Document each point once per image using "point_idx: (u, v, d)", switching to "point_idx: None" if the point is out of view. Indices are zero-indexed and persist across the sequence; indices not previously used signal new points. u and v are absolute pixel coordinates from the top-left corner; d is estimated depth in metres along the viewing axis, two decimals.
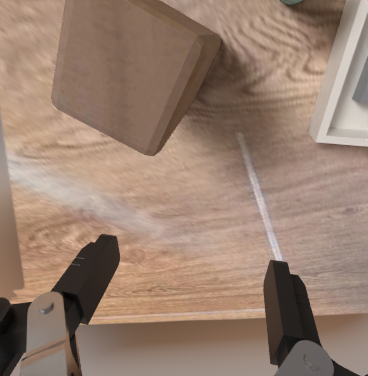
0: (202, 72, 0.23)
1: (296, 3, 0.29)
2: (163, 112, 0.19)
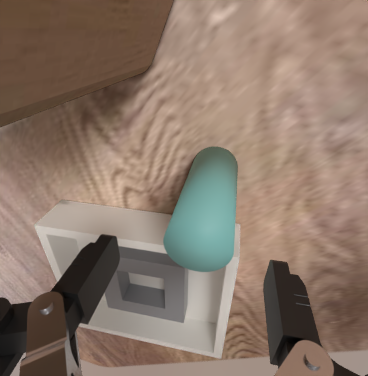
0: None
1: None
2: None
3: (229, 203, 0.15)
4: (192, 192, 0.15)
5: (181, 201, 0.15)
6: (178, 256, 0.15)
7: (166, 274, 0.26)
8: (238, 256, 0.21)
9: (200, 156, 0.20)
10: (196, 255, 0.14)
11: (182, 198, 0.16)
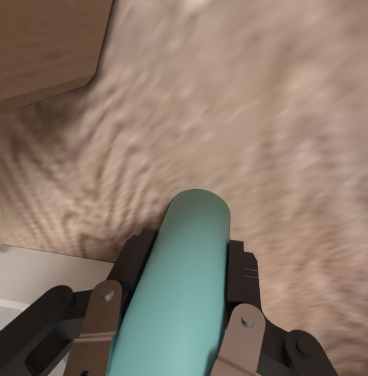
0: None
1: None
2: None
3: (214, 315, 0.09)
4: (152, 294, 0.09)
5: (133, 311, 0.09)
6: None
7: None
8: None
9: (176, 205, 0.14)
10: None
11: (136, 303, 0.09)
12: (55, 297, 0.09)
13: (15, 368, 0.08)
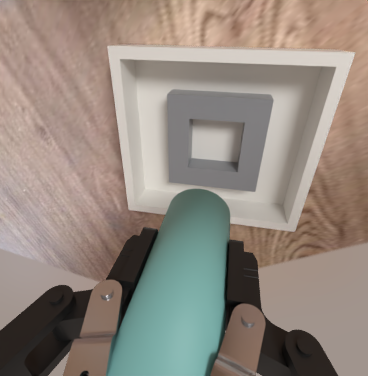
0: None
1: None
2: None
3: (214, 315, 0.09)
4: (152, 294, 0.09)
5: (132, 311, 0.09)
6: None
7: (249, 114, 0.24)
8: (353, 52, 0.19)
9: (176, 205, 0.14)
10: None
11: (135, 302, 0.09)
12: (55, 297, 0.09)
13: (15, 368, 0.08)
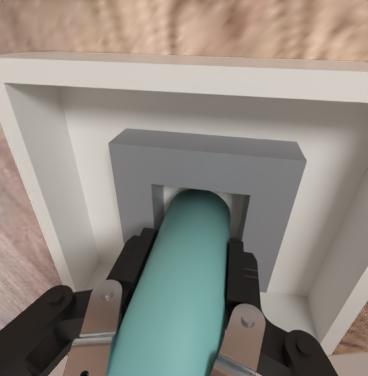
0: None
1: None
2: None
3: (214, 314, 0.09)
4: (152, 293, 0.09)
5: (132, 310, 0.09)
6: None
7: (258, 183, 0.13)
8: None
9: (176, 205, 0.14)
10: None
11: (135, 302, 0.09)
12: (55, 297, 0.09)
13: (15, 368, 0.08)
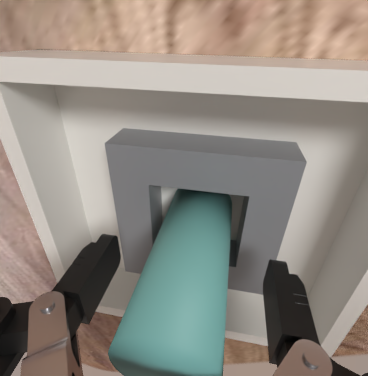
0: None
1: None
2: None
3: (216, 286, 0.10)
4: (161, 266, 0.10)
5: (143, 281, 0.10)
6: (135, 375, 0.09)
7: (257, 184, 0.13)
8: None
9: (181, 193, 0.15)
10: None
11: (145, 275, 0.10)
12: None
13: None
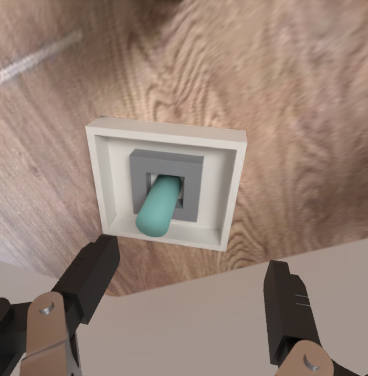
0: None
1: None
2: None
3: (169, 204, 0.31)
4: (151, 198, 0.31)
5: (145, 202, 0.31)
6: (143, 229, 0.30)
7: (187, 172, 0.34)
8: (246, 142, 0.29)
9: (159, 176, 0.36)
10: (151, 228, 0.30)
11: (146, 201, 0.31)
12: None
13: None
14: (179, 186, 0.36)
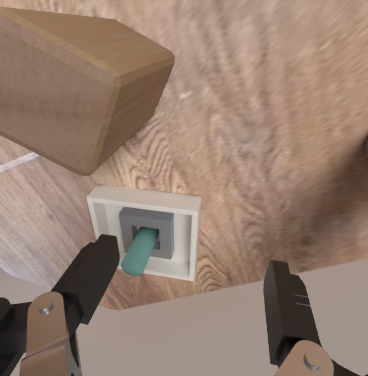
0: None
1: None
2: (30, 146, 0.21)
3: (145, 251, 0.43)
4: (132, 247, 0.43)
5: (128, 250, 0.43)
6: (126, 270, 0.42)
7: (160, 226, 0.46)
8: (197, 210, 0.41)
9: None
10: (132, 270, 0.42)
11: (129, 249, 0.43)
12: None
13: None
14: (156, 234, 0.48)
